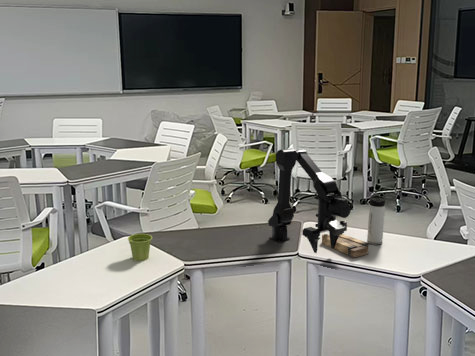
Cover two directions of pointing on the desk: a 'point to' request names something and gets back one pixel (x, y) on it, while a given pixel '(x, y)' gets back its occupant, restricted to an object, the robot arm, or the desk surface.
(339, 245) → the hinged leg
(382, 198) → the travel mug
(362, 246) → the tan rectangular beam
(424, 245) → the desk surface
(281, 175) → the robot arm
